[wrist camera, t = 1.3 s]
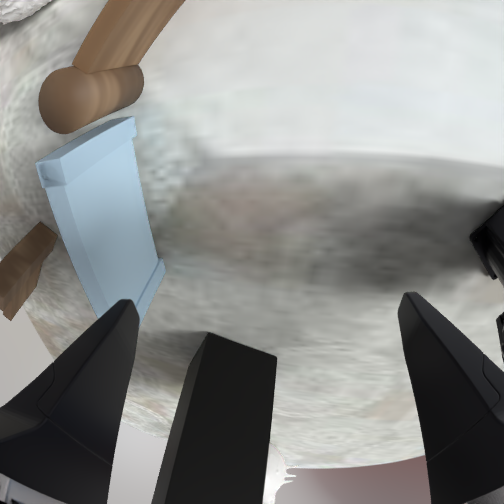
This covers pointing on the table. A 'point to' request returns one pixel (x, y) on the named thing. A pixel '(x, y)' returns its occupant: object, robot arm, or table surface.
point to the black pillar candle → (220, 428)
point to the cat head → (275, 474)
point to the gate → (104, 216)
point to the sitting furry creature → (19, 9)
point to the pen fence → (86, 111)
